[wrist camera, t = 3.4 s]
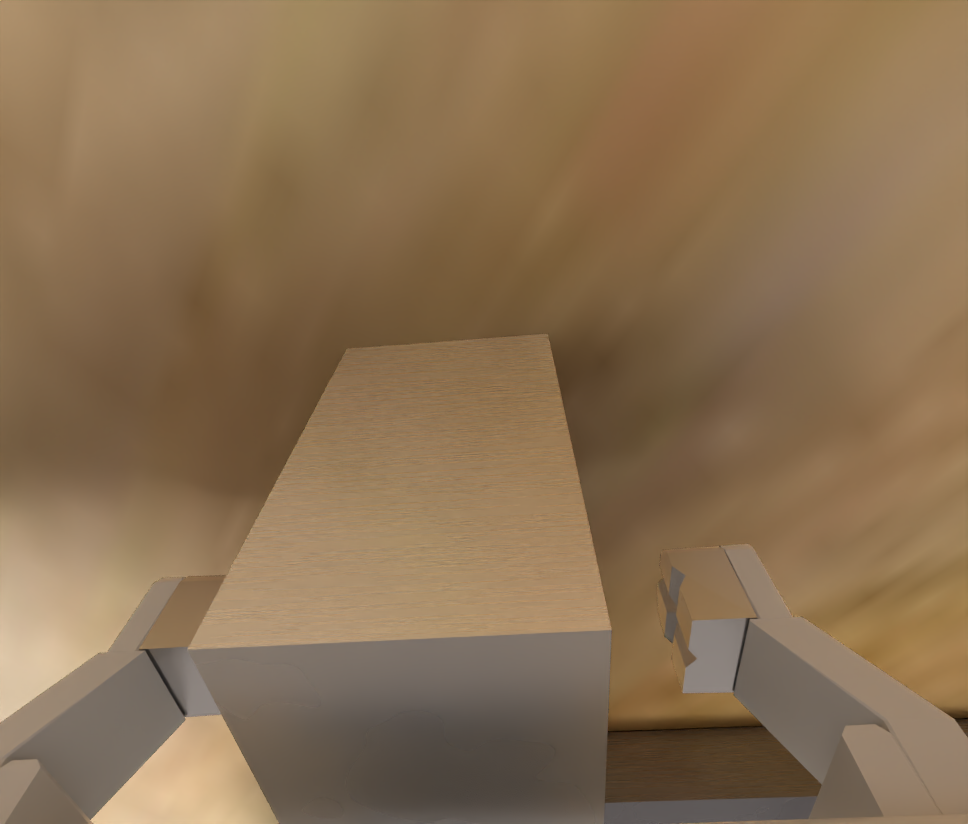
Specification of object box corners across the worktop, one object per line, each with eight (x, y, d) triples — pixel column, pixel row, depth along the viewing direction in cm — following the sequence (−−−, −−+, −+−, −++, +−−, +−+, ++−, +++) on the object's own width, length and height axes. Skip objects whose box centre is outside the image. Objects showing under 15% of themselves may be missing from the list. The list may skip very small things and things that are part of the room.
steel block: (547, 333, 11) (611, 630, 5) (555, 584, 15) (599, 935, 9) (347, 347, 11) (187, 649, 5) (402, 592, 15) (342, 941, 9)
